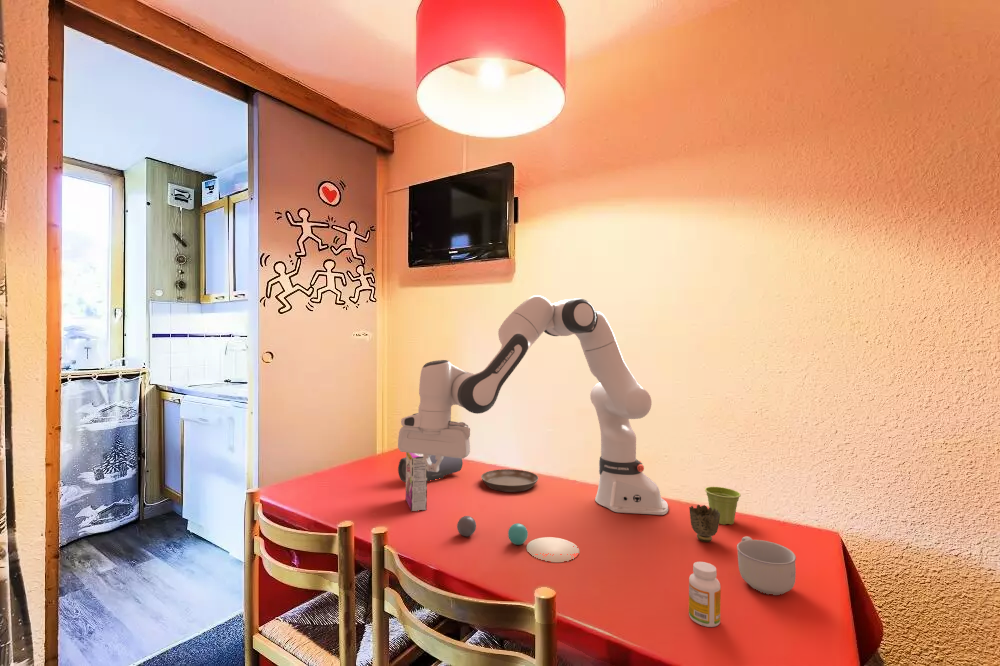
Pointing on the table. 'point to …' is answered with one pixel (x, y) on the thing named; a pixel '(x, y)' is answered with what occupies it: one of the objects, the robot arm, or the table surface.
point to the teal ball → (517, 534)
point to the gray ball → (466, 526)
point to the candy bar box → (416, 481)
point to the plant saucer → (509, 480)
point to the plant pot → (723, 503)
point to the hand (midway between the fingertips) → (432, 471)
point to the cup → (704, 522)
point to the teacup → (766, 566)
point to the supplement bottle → (704, 595)
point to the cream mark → (552, 549)
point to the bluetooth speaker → (445, 467)
